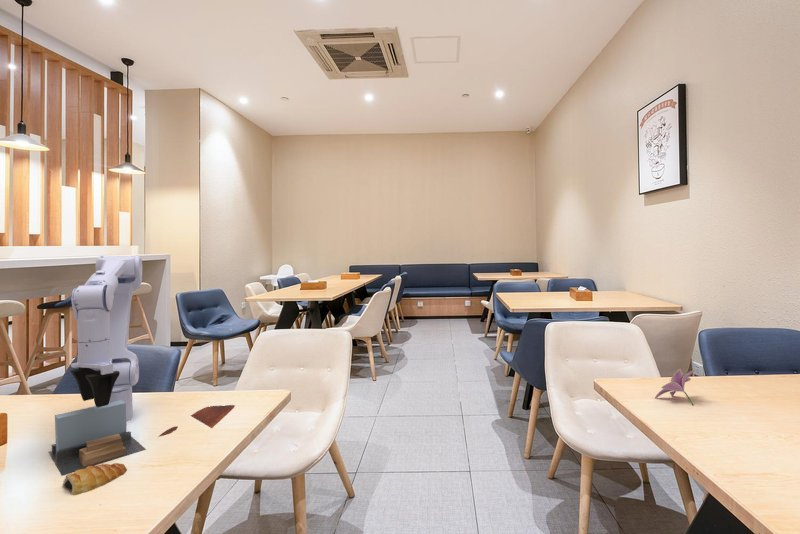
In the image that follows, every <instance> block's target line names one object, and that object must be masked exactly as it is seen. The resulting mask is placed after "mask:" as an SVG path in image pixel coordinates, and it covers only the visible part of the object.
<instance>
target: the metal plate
mask: <svg viewBox="0 0 800 534" xmlns="http://www.w3.org/2000/svg"><path fill="white" fill-rule="evenodd" d="M119 435H120V436H121V438H122V442H123V446H124V447H125V450H126V454H124V455H120V456H117V457H114V458H111V459H108V460H104V461H101V462H98V463H95V464H91V465H88V466H97V465H102V464H106V463H108V462H111V461H114V460H118V459H120V458H124V457H127V456H130V455H133V454H137V453H140V452H143V451H146V450H147V449H146V448H145V447H144V446H143V445H142V444H140V442H139V441H137V439H135V438H134V437H133V436H132V431H130V430H128V431H126V432H125V433H121V434H119ZM83 448H86V443H85V444H82V445H78V446H74V447H71V448H67V449H63V450H60V451H56V443H53V444H51V451H48V454H49V456H50V459H51V460H52V461H53V464H54V465H55V467H56V468H57V470H58V472H59V474H60V475H61V477H63V476H66V475H68V474H71V473H74V472H75V471H76V470H80V469H86V467H88V466H85V467H84V466H83V465H82V464H81V462H80V461H79V450H80V449H83Z"/></svg>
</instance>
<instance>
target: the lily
mask: <svg viewBox="0 0 800 534" xmlns="http://www.w3.org/2000/svg"><path fill="white" fill-rule="evenodd" d="M695 371H696V369H692V370H691V371H689V372H687V373H685V374H684V373H683V371H682V369H681V368H678V369H677V370H676V371H675V372H674V373H673V375H672V377H671V378H670V381H669V382H668V383H666V384H664V385H663V386H662V387H661V390H659V391H658V393H657V394H656V395H655V397H654V399H657V398H658V397H660V396H662V395H663V394H665V393H668V392H669V394H670V395H671V397H673V396H675V394H676V393H677V392H680V393H681V392H682V393H684V395H685V396H686V397H687V399H688V400H689V402H690V404H691V406H694V403H693V401H692V399H691V398H690V396H689V395H688V394H687V392H686V391H685V384H686V383H687V382H690V381H691V380H692V379H691V378H690V376H691V375H692V374H693V373H694V372H695Z"/></svg>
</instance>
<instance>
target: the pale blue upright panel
mask: <svg viewBox="0 0 800 534" xmlns="http://www.w3.org/2000/svg"><path fill="white" fill-rule="evenodd" d="M54 424H55V425H54V431H55V436H54V437H55V444H56V451H60V450H63V449H67V448H71V447H74V446H78V445H82V444H85V443H86V442H87V441H91V440H95V439H99V438H103V437H107V436H111V435H115V434H121V433H125V432H127V422H126V403H125V402H124V401H122V400H120V401H116V402H112V403H109V404H108V405H106V406H102V407H96V405H94V406H90V407H85V408H81V409H77V410H72V411H67V412H63V413H60V414H54Z"/></svg>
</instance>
